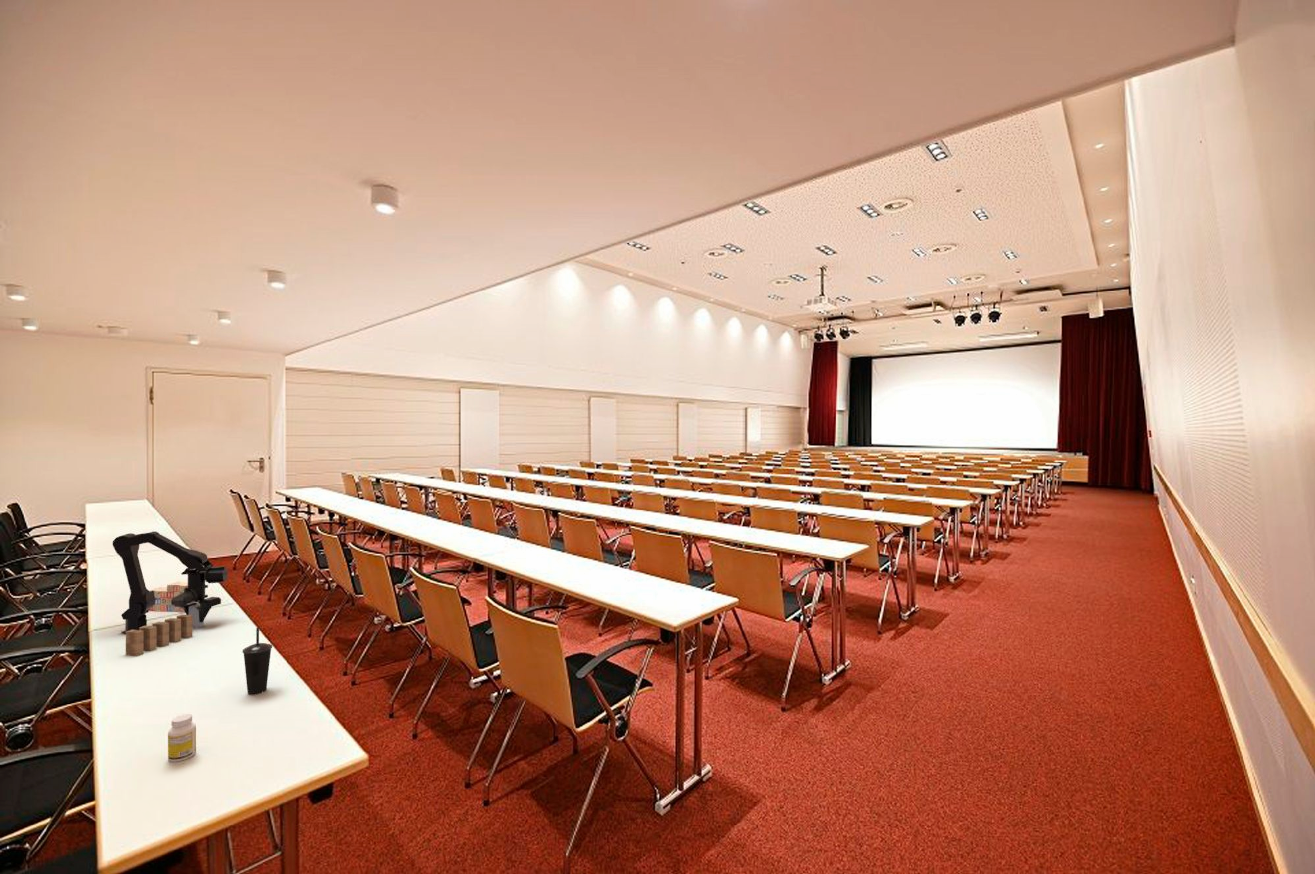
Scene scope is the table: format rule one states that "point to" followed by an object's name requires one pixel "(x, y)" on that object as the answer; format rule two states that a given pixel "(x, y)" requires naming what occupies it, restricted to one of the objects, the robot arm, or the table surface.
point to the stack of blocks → (168, 597)
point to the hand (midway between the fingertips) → (196, 621)
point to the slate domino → (195, 616)
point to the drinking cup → (257, 665)
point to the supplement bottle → (181, 738)
